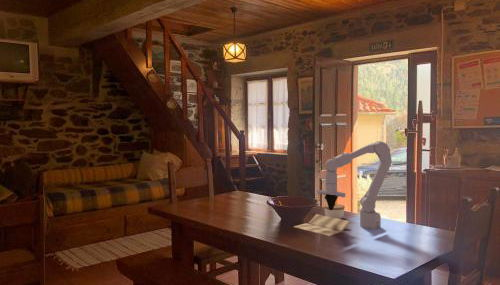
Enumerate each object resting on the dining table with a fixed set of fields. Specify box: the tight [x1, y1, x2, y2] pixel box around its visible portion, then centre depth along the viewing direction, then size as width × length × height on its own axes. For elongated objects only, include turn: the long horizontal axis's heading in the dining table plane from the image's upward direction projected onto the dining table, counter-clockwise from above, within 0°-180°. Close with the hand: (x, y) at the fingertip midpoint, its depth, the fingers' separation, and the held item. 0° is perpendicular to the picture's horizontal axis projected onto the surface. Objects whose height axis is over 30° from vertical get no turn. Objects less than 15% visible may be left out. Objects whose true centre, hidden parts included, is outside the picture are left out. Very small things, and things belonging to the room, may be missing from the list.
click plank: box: [307, 213, 350, 232], centre depth 197 cm, size 20×8×1 cm, turn 42°
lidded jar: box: [324, 203, 345, 219], centre depth 214 cm, size 11×11×9 cm
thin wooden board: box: [293, 222, 342, 237], centre depth 191 cm, size 22×10×1 cm, turn 42°
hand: (331, 209), depth 199 cm, fingers closed
